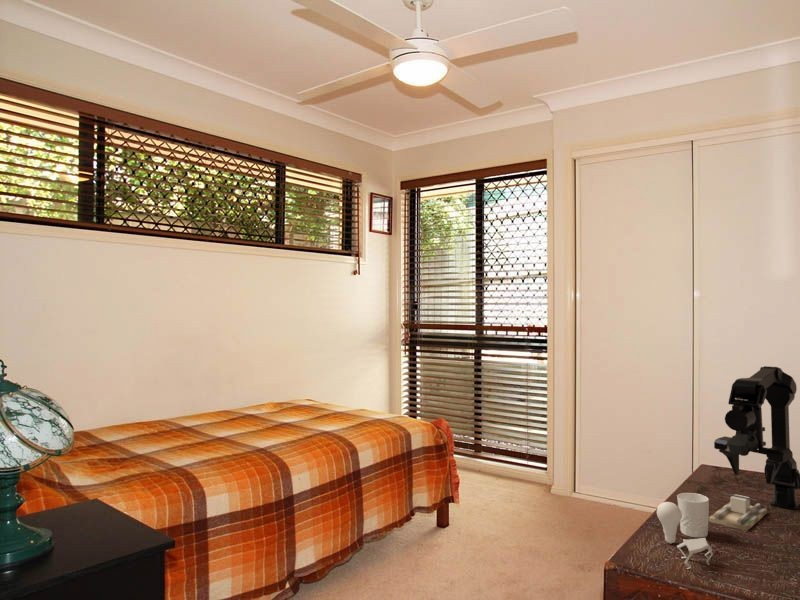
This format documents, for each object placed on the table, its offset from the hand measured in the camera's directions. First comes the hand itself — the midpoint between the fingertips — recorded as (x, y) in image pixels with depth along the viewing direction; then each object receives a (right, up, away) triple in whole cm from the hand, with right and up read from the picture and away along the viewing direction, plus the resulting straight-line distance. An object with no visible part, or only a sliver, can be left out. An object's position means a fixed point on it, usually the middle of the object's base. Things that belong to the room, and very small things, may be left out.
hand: (753, 478), depth 161 cm
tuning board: (+1, -14, +8) cm, 16 cm away
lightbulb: (-27, -15, -8) cm, 32 cm away
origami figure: (-27, -15, -20) cm, 37 cm away
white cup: (-18, -15, -2) cm, 23 cm away
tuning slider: (+2, -13, +9) cm, 16 cm away
